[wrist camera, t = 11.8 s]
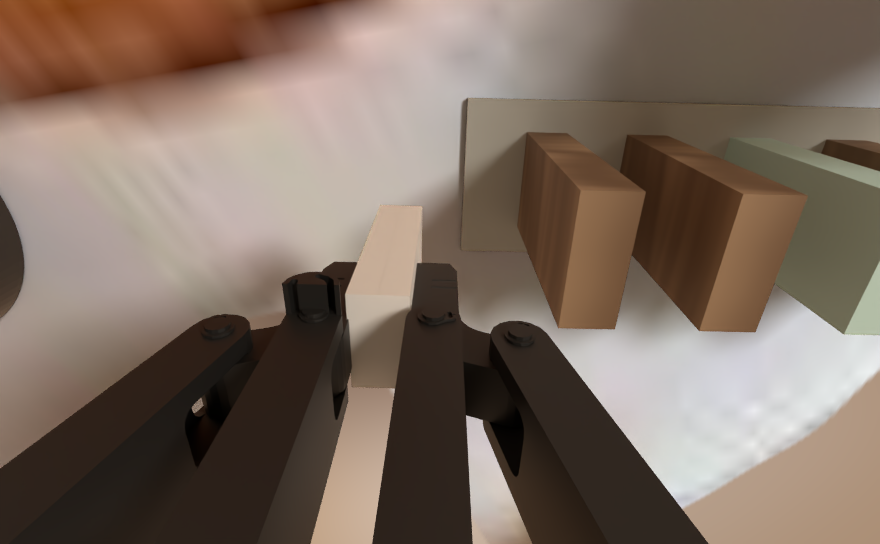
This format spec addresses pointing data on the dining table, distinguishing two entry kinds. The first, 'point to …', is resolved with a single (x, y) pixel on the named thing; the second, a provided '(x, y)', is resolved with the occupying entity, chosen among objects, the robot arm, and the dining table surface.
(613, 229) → the domino
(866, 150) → the domino
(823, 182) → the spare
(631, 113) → the runner
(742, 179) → the domino
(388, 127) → the dining table surface
